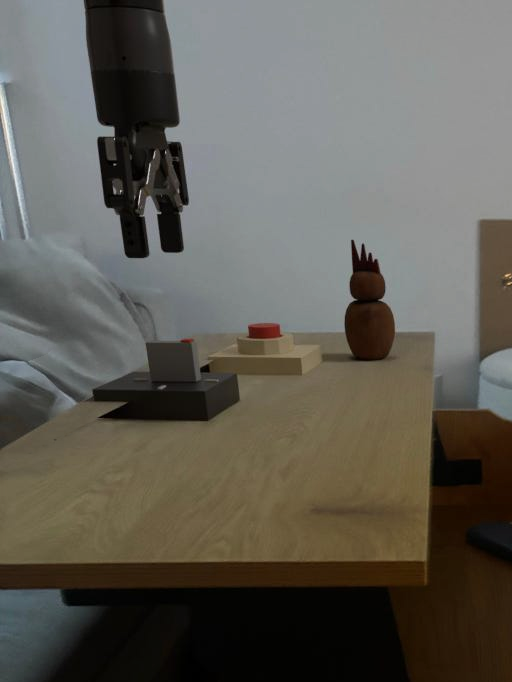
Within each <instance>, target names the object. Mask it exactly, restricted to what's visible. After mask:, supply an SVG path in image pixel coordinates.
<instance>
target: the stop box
mask: <svg viewBox="0 0 512 682" xmlns="http://www.w3.org/2000/svg"><path fill="white" fill-rule="evenodd" d="M280 333H281V337H278V338H270V339H252V338H249V333H243V334H240V335H238V336H236V343H234V344H231V345H229V346H227V347H225V348H223V349H221V350H219V351H216V352H215V353H212V354H210V355H208V356H207V360H208V361H209V362H208V369H209V373H237V375H251V376H252V375H258V376H259V375H260V376H261V375H263V376H264V375H265V376H304V375H305V374H307V373H308V372H309V371H311V370H312V369H314V368H315V367H317V366H318V365H319V364H321V363H323V350H322V345H321V344H294V343H295V342H294V335H293V334H291V333H288V332H281V331H280Z"/></svg>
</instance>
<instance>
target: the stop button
mask: <svg viewBox="0 0 512 682" xmlns="http://www.w3.org/2000/svg"><path fill="white" fill-rule="evenodd" d="M247 330H248V334H249V338H252V339H270V338H278V337H281V333H282V332H281V325H280V323H277V322H276V323H274V322H259V323H257V322H256V323H251V324H248V325H247ZM280 332H281V333H280Z"/></svg>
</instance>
